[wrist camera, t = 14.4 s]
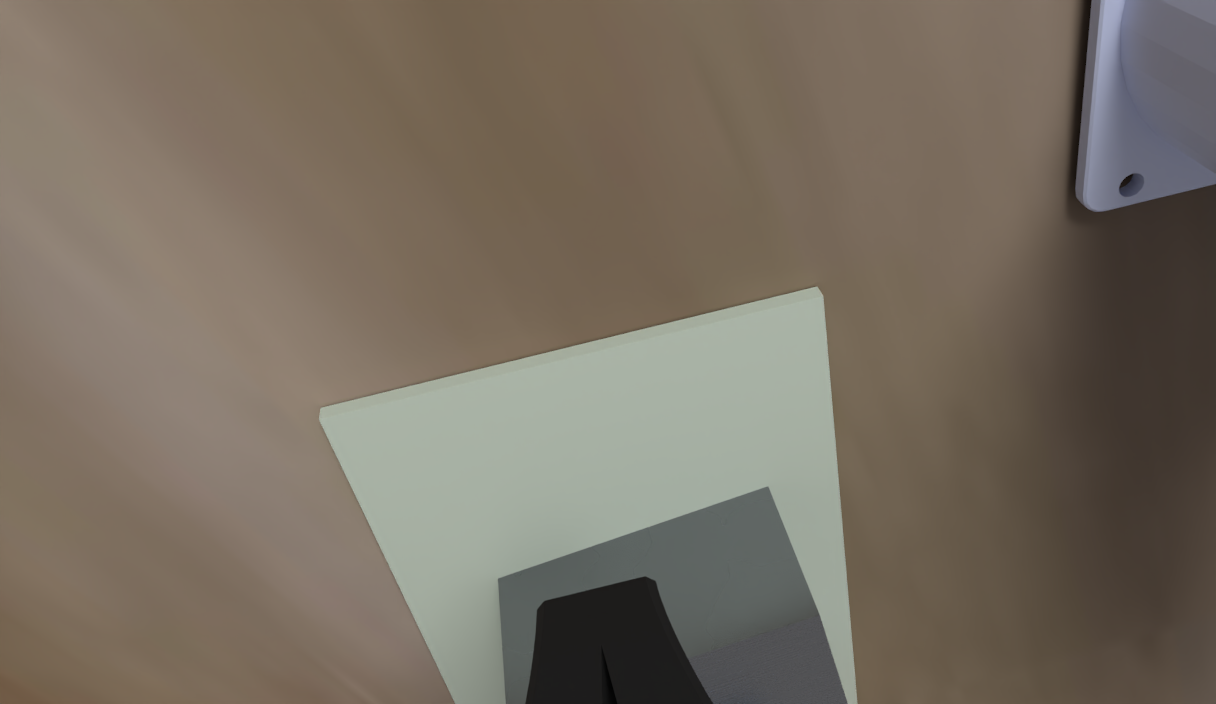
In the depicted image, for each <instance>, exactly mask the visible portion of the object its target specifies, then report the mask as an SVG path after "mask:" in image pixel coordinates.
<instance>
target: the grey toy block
mask: <svg viewBox="0 0 1216 704" xmlns="http://www.w3.org/2000/svg"><path fill="white" fill-rule="evenodd" d="M644 576H646V577H648V578H650V579H653V580H655V581H656V583H657V587H658V591H659V594H660V597H661V600H662V603H663V605H664V608H665V611H666V613H667V616H668V618H669V620H670V623H671V625H672V627H673V630H674V632H675V634H676V636H677V638H678V640H679V642H680V644H681V646H682V648H683V650H684V652H685V654H686V656H687V658H688V660H689V662H690V664H691V666H692V668H693V669H694V671H695V673H696V675H697V677H698V679H699V680H700V682H701V684H702V686H703V687H704V689H705V691H706V693H707V694H708V696H709V698H710V699H711V701H712V702H713V704H848V703H847V699H846V696H845V693H844V690H843V687H842V684H841V680H840V677H839V674H838V671H837V668H836V665H835V662H834V658H833V655H832V652H831V649H830V646H829V643H828V639H827V636H826V633H825V630H824V627H823V624H822V621H821V617H820V614H819V612H818V609H817V607H816V604H815V602H814V599H813V597H812V594H811V592H810V589H809V587H808V584H807V582H806V579H805V577H804V574H803V572H802V569H801V567H800V564H799V562H798V559H797V557H796V554H795V552H794V549H793V547H792V544H791V542H790V539H789V537H788V534H787V532H786V529H785V527H784V524H783V522H782V519H781V517H780V514H779V512H778V509H777V507H776V504H775V502H774V499H773V497H772V494H771V492H770V489H769V487H768V486H767V487H764V488H761V489H758V490H755V491H752V492H750V493H747V494H744V495H741V496H738V497H735V498H732V499H729V500H726V501H723V502H720V503H717V504H714V505H712V506H709V507H706V508H703V509H700V510H697V511H694V512H691V513H688V514H685V515H682V516H679V517H676V518H673V519H671V520H668V521H665V522H662V523H659V524H656V525H653V526H650V527H647V528H644V529H641V530H638V531H635V532H632V533H630V534H627V535H624V536H621V537H618V538H615V539H612V540H609V541H606V542H603V543H600V544H597V545H594V546H592V547H589V548H586V549H583V550H580V551H577V552H574V553H571V554H568V555H565V556H562V557H559V558H556V559H553V560H551V561H548V562H545V563H542V564H539V565H536V566H533V567H530V568H527V569H524V570H521V571H518V572H515V573H512V574H510V575H507V576H504V577H501V578H498V588H499V604H500V620H501V635H502V651H503V667H504V683H505V699H506V704H525V702H526V697H527V691H528V685H529V680H530V673H531V667H532V659H533V651H534V642H535V633H536V616H537V609H538V608H539V606H540V605H541V604H542V603H543V602H544V601H546V600H550V599H554V598H558V597H562V596H566V595H570V594H574V593H578V592H582V591H586V590H590V589H595V588H599V587H603V586H607V585H611V584H615V583H619V582H623V581H627V580H631V579H635V578H640V577H644Z"/></svg>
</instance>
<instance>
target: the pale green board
mask: <svg viewBox="0 0 1216 704" xmlns="http://www.w3.org/2000/svg"><path fill="white" fill-rule="evenodd" d="M319 421H320V423H321V425H322V427H323V429H324V431H325V433H326V435H327V437H328V439H329V441H330V444H331V446H332V448H333V450H334V452H335V454H336V456H337V458H338V460H339V462H340V464H341V466H342V469H343V471H344V473H345V475H346V477H347V479H348V481H349V483H350V485H351V487H352V489H353V491H354V494H355V496H356V498H357V500H358V502H359V504H360V506H361V508H362V510H363V512H364V514H365V517H366V519H367V521H368V523H369V525H370V527H371V529H372V531H373V533H374V535H375V537H376V539H377V542H378V544H379V546H380V548H381V550H382V552H383V554H384V556H385V558H386V560H387V562H388V564H389V567H390V569H391V571H392V573H393V575H394V577H395V579H396V581H397V583H398V585H399V587H400V589H401V592H402V594H403V596H404V598H405V600H406V602H407V604H408V606H409V608H410V610H411V612H412V615H413V617H414V619H415V621H416V623H417V625H418V627H419V629H420V631H421V633H422V635H423V637H424V640H425V642H426V644H427V646H428V648H429V650H430V652H431V654H432V656H433V658H434V660H435V662H436V665H437V667H438V669H439V671H440V673H441V675H442V677H443V679H444V681H445V683H446V685H447V687H448V690H449V692H450V694H451V696H452V698H453V700H454V702H455V704H506V699H505V683H504V667H503V651H502V635H501V620H500V604H499V588H498V578H501V577H504V576H507V575H510V574H512V573H515V572H518V571H521V570H524V569H527V568H530V567H533V566H536V565H539V564H542V563H545V562H548V561H551V560H553V559H556V558H559V557H562V556H565V555H568V554H571V553H574V552H577V551H580V550H583V549H586V548H589V547H592V546H594V545H597V544H600V543H603V542H606V541H609V540H612V539H615V538H618V537H621V536H624V535H627V534H630V533H632V532H635V531H638V530H641V529H644V528H647V527H650V526H653V525H656V524H659V523H662V522H665V521H668V520H671V519H673V518H676V517H679V516H682V515H685V514H688V513H691V512H694V511H697V510H700V509H703V508H706V507H709V506H712V505H714V504H717V503H720V502H723V501H726V500H729V499H732V498H735V497H738V496H741V495H744V494H747V493H750V492H752V491H755V490H758V489H761V488H764V487H767V486H768V487H769V489H770V492H771V494H772V497H773V499H774V502H775V504H776V507H777V509H778V512H779V514H780V517H781V519H782V522H783V524H784V527H785V529H786V532H787V534H788V537H789V539H790V542H791V544H792V547H793V549H794V552H795V554H796V557H797V559H798V562H799V564H800V567H801V569H802V572H803V574H804V577H805V579H806V582H807V584H808V587H809V589H810V592H811V594H812V597H813V599H814V602H815V604H816V607H817V609H818V612H819V614H820V617H821V621H822V624H823V627H824V630H825V633H826V636H827V639H828V643H829V646H830V649H831V652H832V655H833V658H834V662H835V665H836V668H837V671H838V674H839V677H840V680H841V684H842V687H843V690H844V693H845V696H846V699H847V703H848V704H857V694H856V682H855V670H854V658H853V646H852V635H851V623H850V611H849V599H848V587H847V575H846V563H845V551H844V539H843V527H842V515H841V503H840V491H839V479H838V467H837V455H836V443H835V432H834V420H833V408H832V396H831V384H830V372H829V360H828V348H827V336H826V324H825V312H824V300H823V295H822V293H821V292H820V290H819V288H818V287H813V288H809V289H805V290H801V291H797V292H793V293H789V294H785V295H780V296H776V297H772V298H768V299H764V300H760V301H756V302H752V303H748V304H744V305H740V306H736V307H731V308H727V309H723V310H719V311H715V312H711V313H707V314H703V315H699V316H695V317H691V318H686V319H682V320H678V321H674V322H670V323H666V324H662V325H658V326H654V327H650V328H646V329H641V330H637V331H633V332H629V333H625V334H621V335H617V336H613V337H609V338H605V339H601V340H596V341H592V342H588V343H584V344H580V345H576V346H572V347H568V348H564V349H560V350H556V351H551V352H547V353H543V354H539V355H535V356H531V357H527V358H523V359H519V360H515V361H511V362H506V363H502V364H498V365H494V366H490V367H486V368H482V369H478V370H474V371H470V372H466V373H461V374H457V375H453V376H449V377H445V378H441V379H437V380H433V381H429V382H425V383H421V384H416V385H412V386H408V387H404V388H400V389H396V390H392V391H388V392H384V393H380V394H376V395H372V396H367V397H363V398H359V399H355V400H351V401H347V402H343V403H339V404H335V405H331V406H327V407H322V408H321V410H320V416H319Z"/></svg>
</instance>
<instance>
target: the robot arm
mask: <svg viewBox="0 0 1216 704" xmlns="http://www.w3.org/2000/svg"><path fill="white" fill-rule="evenodd" d="M1131 174H1133V176H1132V179H1131V181H1130V182H1129V183H1128V184H1127V185H1126V186H1124V187H1122V188H1120V189H1119V187H1120V184H1121V182H1122V181H1123V180H1124V179H1125V178H1126V177H1127V176H1129V175H1131ZM1214 184H1216V0H1092V2H1091V14H1090V25H1089V37H1088V48H1087V60H1086V71H1085V83H1084V94H1083V106H1082V117H1081V129H1080V140H1079V152H1078V163H1077V175H1076V186H1075V191H1076V198H1077V199H1078V200H1079V201H1080V203H1081V204H1083V205H1084V206H1085V207H1086V208H1087V209H1089V210H1092V211H1094V212H1102V211H1108V210H1112V209H1116V208H1120V207H1124V206H1128V205H1132V204H1136V203H1140V202H1145V201H1149V200H1153V199H1157V198H1161V197H1165V196H1169V195H1173V194H1177V193H1181V192H1185V191H1190V190H1194V189H1198V188H1202V187H1206V186H1210V185H1214ZM525 704H713V702H712V701H711V699H710V698H709V696H708V694H707V693H706V691H705V689H704V687H703V686H702V684H701V682H700V680H699V679H698V677H697V675H696V673H695V671H694V669H693V668H692V666H691V664H690V662H689V660H688V658H687V656H686V654H685V652H684V650H683V648H682V646H681V644H680V642H679V640H678V638H677V636H676V634H675V632H674V630H673V627H672V625H671V623H670V620H669V618H668V616H667V613H666V611H665V608H664V605H663V603H662V600H661V597H660V594H659V591H658V587H657V583H656V581H655V580H653V579H650V578H648V577H646V576H644V577H640V578H635V579H631V580H627V581H623V582H619V583H615V584H611V585H607V586H603V587H599V588H595V589H590V590H586V591H582V592H578V593H574V594H570V595H566V596H562V597H558V598H554V599H550V600H546V601H544V602H543V603H542V604H541V605H540V606H539V608H538V609H537V616H536V633H535V642H534V651H533V659H532V667H531V673H530V680H529V685H528V691H527V697H526V702H525Z"/></svg>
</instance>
